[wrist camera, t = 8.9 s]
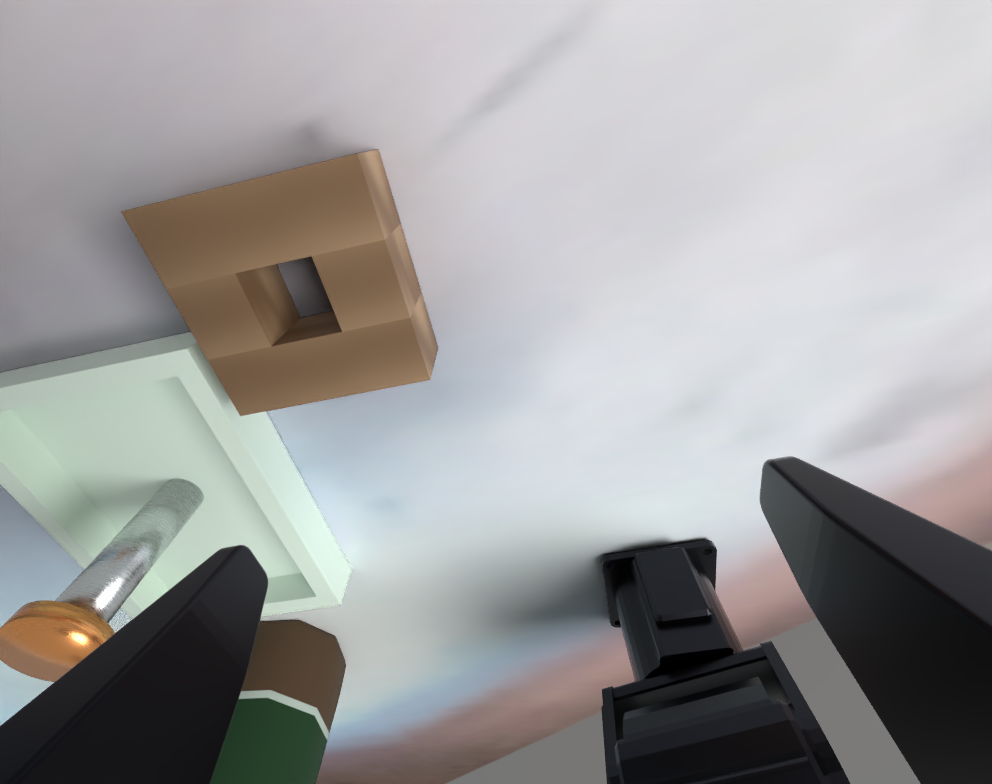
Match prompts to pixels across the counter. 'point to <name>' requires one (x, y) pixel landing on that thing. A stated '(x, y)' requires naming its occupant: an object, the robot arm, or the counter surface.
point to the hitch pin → (96, 590)
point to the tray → (162, 469)
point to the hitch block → (264, 295)
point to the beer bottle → (283, 707)
